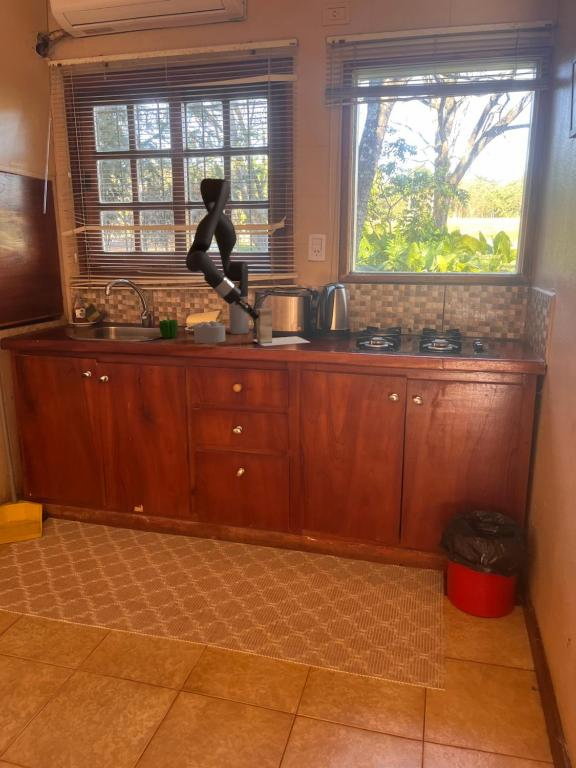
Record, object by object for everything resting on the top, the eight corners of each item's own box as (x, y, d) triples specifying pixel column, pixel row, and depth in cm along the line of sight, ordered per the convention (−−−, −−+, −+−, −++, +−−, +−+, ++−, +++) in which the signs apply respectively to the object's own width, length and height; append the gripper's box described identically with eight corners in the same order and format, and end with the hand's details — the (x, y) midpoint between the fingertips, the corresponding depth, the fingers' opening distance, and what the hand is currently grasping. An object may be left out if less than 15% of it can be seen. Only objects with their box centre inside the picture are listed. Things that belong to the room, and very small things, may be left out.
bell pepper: (175, 339, 245) (173, 317, 243) (157, 339, 246) (156, 317, 244) (181, 336, 253) (180, 314, 251) (164, 335, 254) (163, 314, 252)
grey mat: (252, 341, 239) (252, 339, 239) (296, 337, 246) (296, 336, 246) (263, 347, 224) (263, 345, 224) (310, 343, 232) (310, 342, 232)
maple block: (257, 341, 234) (256, 308, 230) (268, 340, 236) (267, 308, 232) (260, 343, 229) (260, 310, 226) (272, 342, 231) (271, 309, 228)
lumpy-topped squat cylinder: (201, 339, 245) (200, 320, 243) (228, 340, 242) (228, 320, 240) (192, 343, 235) (191, 323, 233) (221, 344, 232) (220, 324, 230)
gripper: (237, 284, 216) (267, 313, 223) (229, 281, 228) (257, 309, 235) (225, 298, 215) (255, 327, 223) (217, 295, 227) (246, 322, 235)
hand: (256, 318), depth 229 cm, fingers closed
